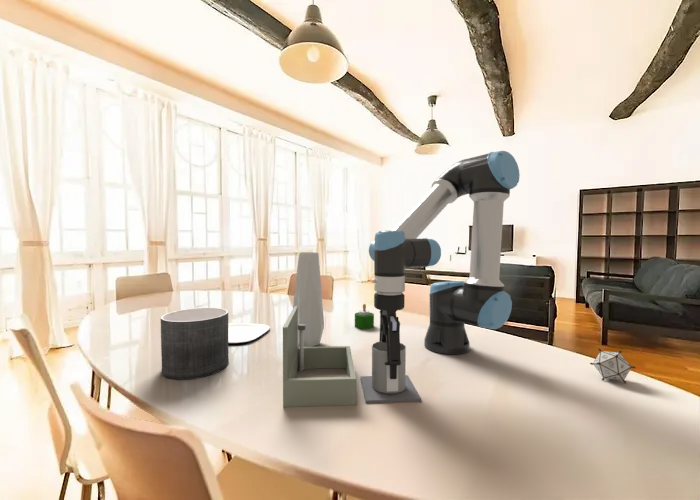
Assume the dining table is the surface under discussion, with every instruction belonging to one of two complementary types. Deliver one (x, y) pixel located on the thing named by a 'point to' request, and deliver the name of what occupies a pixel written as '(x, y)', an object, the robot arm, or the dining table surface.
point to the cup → (380, 368)
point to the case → (295, 358)
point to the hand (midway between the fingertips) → (388, 382)
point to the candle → (364, 319)
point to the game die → (612, 365)
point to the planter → (194, 342)
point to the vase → (309, 298)
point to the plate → (245, 332)
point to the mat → (378, 397)
